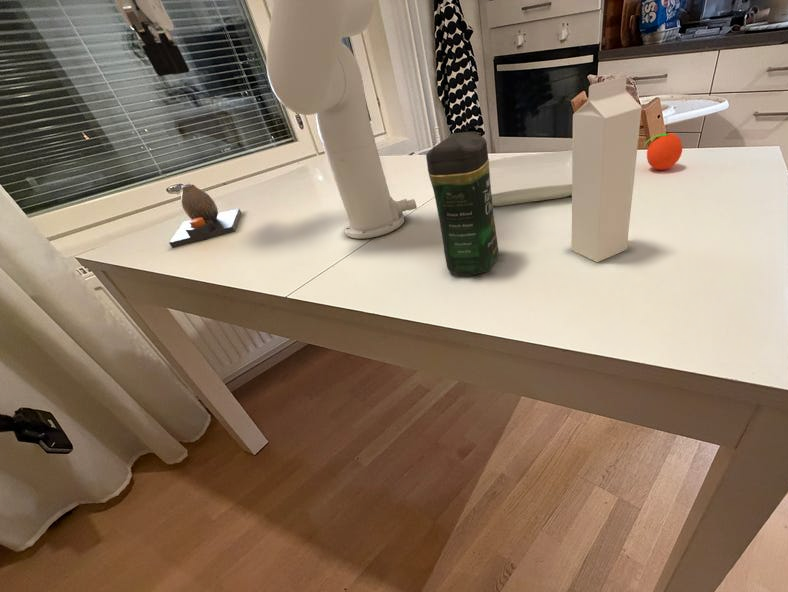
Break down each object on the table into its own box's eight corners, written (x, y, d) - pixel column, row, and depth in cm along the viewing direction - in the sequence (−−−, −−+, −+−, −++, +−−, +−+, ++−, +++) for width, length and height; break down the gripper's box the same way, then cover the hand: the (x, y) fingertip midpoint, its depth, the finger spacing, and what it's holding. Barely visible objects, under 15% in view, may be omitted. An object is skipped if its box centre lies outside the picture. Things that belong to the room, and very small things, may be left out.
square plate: (600, 199, 78) (601, 178, 75) (464, 217, 80) (461, 198, 78) (576, 163, 98) (577, 145, 96) (468, 178, 101) (466, 162, 99)
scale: (241, 213, 106) (235, 202, 104) (235, 233, 94) (228, 220, 92) (186, 227, 103) (179, 215, 101) (172, 249, 91) (163, 236, 89)
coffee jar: (491, 277, 60) (473, 142, 48) (442, 277, 62) (413, 148, 50) (504, 249, 67) (491, 124, 55) (460, 250, 69) (438, 130, 57)
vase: (209, 225, 96) (187, 188, 91) (187, 227, 98) (164, 191, 92) (228, 215, 101) (208, 179, 96) (207, 216, 103) (186, 181, 97)
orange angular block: (207, 222, 94) (203, 216, 93) (205, 226, 92) (201, 220, 91) (194, 226, 94) (190, 219, 93) (191, 230, 92) (187, 223, 91)
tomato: (641, 176, 85) (646, 139, 80) (637, 166, 90) (641, 131, 85) (682, 172, 83) (689, 134, 78) (675, 162, 88) (681, 126, 83)
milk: (626, 250, 60) (647, 75, 46) (596, 263, 59) (608, 85, 44) (599, 238, 65) (610, 75, 51) (569, 250, 63) (572, 84, 49)
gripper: (111, -83, 54) (187, 70, 65) (146, -55, 67) (205, 69, 78) (49, -76, 52) (138, 79, 63) (97, -49, 65) (164, 76, 76)
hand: (175, 73), depth 71 cm, fingers open, 9 cm apart
